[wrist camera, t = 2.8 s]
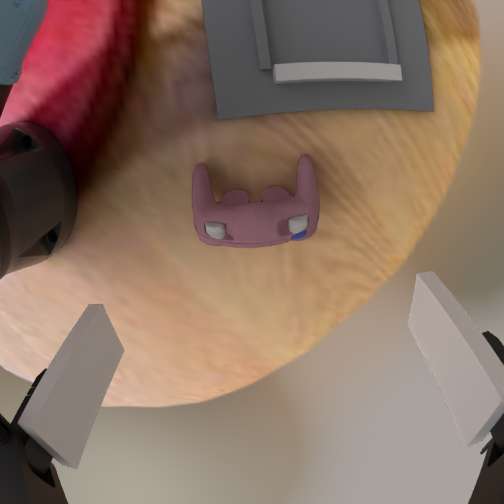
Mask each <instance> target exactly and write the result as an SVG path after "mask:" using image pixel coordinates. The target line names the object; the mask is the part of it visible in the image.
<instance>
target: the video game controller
mask: <svg viewBox="0 0 504 504" xmlns="http://www.w3.org/2000/svg"><path fill="white" fill-rule="evenodd" d="M192 208H193V216H194V224H195V228H196V231H197V234H198V236H199V238H200V240H201V241H203V242H204V243H206V244H208V245H211V246H221V245H224V246H230V247H241V248H254V247H265V246H272V245H277V244H282V243H286V242H289V241H300V240H304V239H307V238H309V237H311V236H312V235H313V234H314V233H315V231H316V228H317V223H318V218H319V208H320V206H319V192H318V186H317V181H316V176H315V171H314V166H313V163H312V161H311V159H310V158H309V156H308V155H306V154H302V155H301V156H300V158H299V162H298V168H297V179H296V193H295V195H294V197H293V196H291V195H290V194H289V193H288V192H287V191H286V190H285V189H284V188H282V187H278V186H273V187H269V188H266V189H265V190H264V191H263V192H262V193H261V202H254V203H250V198H249V194H248V193H247V192H246V191H243V190H231V191H228V192H227V193H226V194H225V195H224V196H223V197H222V199H221V200H220V201H219V202H218V203H217V202H216V201H215V199H214V197H213V194H212V189H211V184H210V179H209V175H208V171H207V168H206V166H205V165H204V164H203V163H198V164H197V165H196V167H195V169H194V171H193V177H192Z"/></svg>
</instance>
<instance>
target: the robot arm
mask: <svg viewBox="0 0 504 504" xmlns="http://www.w3.org/2000/svg"><path fill="white" fill-rule="evenodd" d="M47 7H48V0H0V117H1V114H2V112H3V109H4V106H5V104H6V101H7V98H8V96H9V93H10V91H11V89H12V86H13V84H14V83H17V82H18V80H19V78H20V76H21V74H22V72H21V71H22V64H23V61H24V59H25V57H26V54H27V52H28V50H29V48H30V46H31V44H32V42H33V40H34V38H35V36H36V34H37V32H38V30H39V28H40V26H41V24H42V22H43V20H44V18H45V15H46V12H47ZM76 210H77V192H76V184H75V179H74V175H73V171H72V168H71V165H70V163H69V160H68V158H67V156H66V154H65V152H64V150H63V148H62V147H61V145H60V144H59V142H58V141H57V140H56V139H55V137H54V136H53V135H52V134H51V133H50V132H48V131H47V130H46V129H45V128H43V127H41V126H40V125H37V124H35V123H31V122H16V123H12V124H7V125H4V126H1V127H0V279H1V278H2V277H3V276H4V275H6V274H8V273H11V272H14V271H17V270H20V269H23V268H26V267H29V266H32V265H35V264H38V263H41V262H43V261H44V260H46V259H48V258H49V257H51V256H52V255H53V254H54V253H55V252H56V251H57V250H58V249H59V248H60V247H61V246H62V245H63V244H64V243H65V242H66V240H67V239H68V237H69V235H70V233H71V231H72V229H73V226H74V222H75V218H76ZM407 326H408V328H409V330H410V332H411V334H412V335H413V337H414V339H415V341H416V343H417V345H418V347H419V348H420V351H421V353H422V354H423V356H424V358H425V360H426V362H427V364H428V366H429V368H430V370H431V372H432V374H433V376H434V378H435V380H436V382H437V385H438V387H439V389H440V391H441V393H442V395H443V398H444V400H445V402H446V404H447V406H448V408H449V411H450V413H451V415H452V417H453V420H454V422H455V425H456V427H457V429H458V432H459V434H460V437H461V439H462V441H463V444H464V447H465V448H466V447H469V446H471V445H473V444H476V443H478V442H480V441H482V440H483V439H484V438H485V437H486V436H487V434H488V433H489V432H491V434H492V437H493V438H492V439H491V440H490V441H489V442H488V443H487V444H486V445H485V447H484V448H483V449H482V451H481V453H480V454H483V453H484V452H485V451H486V450H487V449H488V450H487V453H486V456H485V459H484V463H483V466H482V468H481V472H480V474H479V477H478V480H477V483H476V485H475V488H474V490H473V493H472V496H471V498H470V500H469V502H468V504H504V346H503V345H502V343H501V342H500V340H499V339H498V338H497V337H496V336H494V335H493V334H491V333H490V332H489V331H487V332H484V333H481V332H480V330H479V329H478V328H477V326H476V325H475V324H474V322H473V321H472V320H471V318H470V317H469V316H468V314H467V313H466V312H465V310H464V309H463V308H462V307H461V305H460V304H459V303H458V301H457V300H456V299H455V298H454V296H453V295H452V294H451V293H450V292H449V290H448V289H447V288H446V287H445V285H444V284H443V283H442V282H441V281H440V279H439V278H438V277H437V276H436V275H435V273H434V272H433V271H429V272H422V273H417V276H416V283H415V288H414V294H413V300H412V305H411V309H410V314H409V319H408V324H407ZM123 352H124V348H123V346H122V344H121V342H120V340H119V338H118V336H117V334H116V332H115V330H114V328H113V326H112V324H111V322H110V319H109V317H108V315H107V313H106V310H105V308H104V306H103V304H89V305H88V307H87V308H86V310H85V311H84V312H83V314H82V315H81V317H80V318H79V320H78V321H77V323H76V324H75V326H74V327H73V329H72V330H71V332H70V333H69V335H68V337H67V338H66V340H65V341H64V343H63V344H62V346H61V347H60V349H59V351H58V352H57V354H56V355H55V357H54V359H53V360H52V362H51V364H50V365H49V367H48V369H44V370H43V371H42V372H41V373H40V374H39V375H38V376H37V378H36V379H35V381H34V383H33V384H32V388H31V389H30V390H29V391H28V393H27V396H26V397H25V398H24V400H23V402H22V404H21V406H20V408H19V409H18V411H17V413H16V415H15V417H14V419H13V421H12V422H11V424H10V423H9V422H8V421H7V420H6V419H5V418H4V417H3V416H2V415H1V414H0V504H68V502H67V499H66V497H65V494H64V491H63V489H62V486H61V483H60V480H59V478H58V474H57V471H56V468H55V467H54V465H53V464H52V463H51V461H52V458H54V459H56V460H57V461H58V462H59V463H61V464H62V465H64V466H67V467H71V468H74V469H77V468H78V465H79V462H80V459H81V456H82V454H83V451H84V448H85V445H86V443H87V440H88V437H89V434H90V432H91V429H92V427H93V424H94V421H95V419H96V416H97V414H98V411H99V409H100V406H101V404H102V401H103V399H104V396H105V394H106V392H107V389H108V387H109V384H110V382H111V380H112V377H113V375H114V373H115V370H116V368H117V366H118V364H119V361H120V359H121V357H122V355H123Z"/></svg>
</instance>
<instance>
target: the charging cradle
mask: <svg viewBox="0 0 504 504" xmlns="http://www.w3.org/2000/svg"><path fill="white" fill-rule="evenodd" d="M202 7H203V15H204V22H205V29H206V37H207V44H208V51H209V58H210V65H211V72H212V79H213V86H214V93H215V100H216V107H217V113H218V120H225V119H232V118H239V117H247V116H255V115H264V114H274V113H285V112H298V111H313V110H336V109H394V110H416V111H431V112H434V108H433V92H432V80H431V70H430V62H429V54H428V47H427V40H426V34H425V28H424V23H423V18H422V13H421V8H420V4H419V0H202Z"/></svg>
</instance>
